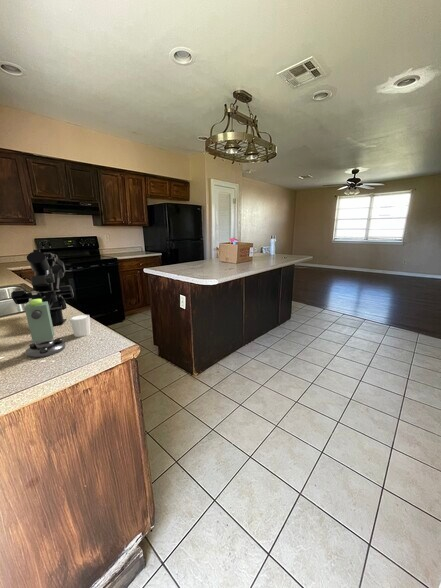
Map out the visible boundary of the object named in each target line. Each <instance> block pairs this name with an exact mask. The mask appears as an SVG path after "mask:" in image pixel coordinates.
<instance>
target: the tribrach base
mask: <svg viewBox="0 0 441 588" xmlns="http://www.w3.org/2000/svg"><path fill="white" fill-rule="evenodd" d="M28 345H29V347H28V348H27V349H26V350H25V356H26V358H29V359H41V358H40V357H42V358H46V356H47V357H49V356H50V355H51V356H53V354H54V355H56V354H58V353H59V352H61V351H63V350H64V349H65V348H66V342H65V341H64V340H63V337H58V338H56V339H55V338H54V340H53V341H48V342H42V343H37V344H35V342H31V343H29V344H28Z"/></svg>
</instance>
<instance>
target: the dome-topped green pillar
mask: <svg viewBox="0 0 441 588" xmlns="http://www.w3.org/2000/svg"><path fill="white" fill-rule="evenodd" d="M24 311H25V315H26V320H27V325H28V328H29V333H30V337H31V343H34V342H35V344H37V343H42V342H48V341H53V340H55V330H54V325H52V320H51V315H50V310H49V305H48V301H47V302H42V299H33V300H32V299H29V302H28V303H27V304H26V305H25V306H24Z"/></svg>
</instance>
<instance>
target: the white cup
mask: <svg viewBox="0 0 441 588" xmlns="http://www.w3.org/2000/svg"><path fill="white" fill-rule="evenodd" d="M90 318H91V317H90V314H77V315H74V316H71V317H70V318H69V322H70V325H71V329H72V332H73V335H74V337H77V338H78V337H79V338H80V337H86V336H88V335H90V334H91V320H90ZM85 335H86V336H85Z"/></svg>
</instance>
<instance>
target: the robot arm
mask: <svg viewBox="0 0 441 588" xmlns="http://www.w3.org/2000/svg"><path fill="white" fill-rule="evenodd" d="M32 250H33V251H32V252H30V253H28V255H26V260H27V262H28V265H29V266H30V268H31V270H32V272H34V275H32V276H30V280H31V286H32V290H33V291H31V292H28V293H27V291H26V289H19V290H13V291H11V293H10V297H11V299H12V300H13V302H14V304H15V305H25V304H26V305H27V304H29V303H30V302H29V301H30V300H33V299H42V302H47V301H48V305H49V310H50V315H51V320H52V325H53V326H60V325H63V324H64V323H66V321H67V318H64V315H63V310H66V309H67V302H66V299H67V300H68V299H73V298H74V295H75V294H74V290H73V287H72V286H71V285H70V284H68V285H60V279H62V278H64V276H65V273H66V267H65V264H64V261H62V259H60V258H59V257H58V255H57V254H55V253H52V252H42V251H41V249H32Z"/></svg>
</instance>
